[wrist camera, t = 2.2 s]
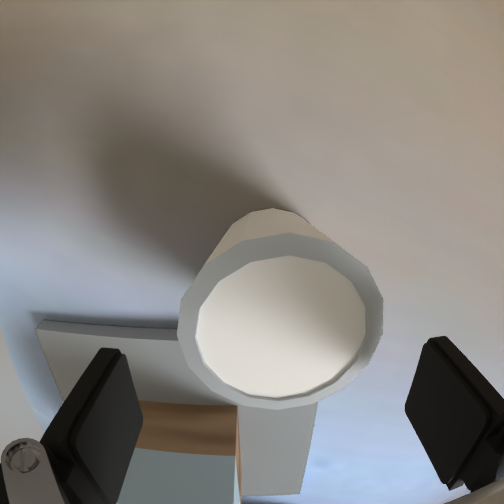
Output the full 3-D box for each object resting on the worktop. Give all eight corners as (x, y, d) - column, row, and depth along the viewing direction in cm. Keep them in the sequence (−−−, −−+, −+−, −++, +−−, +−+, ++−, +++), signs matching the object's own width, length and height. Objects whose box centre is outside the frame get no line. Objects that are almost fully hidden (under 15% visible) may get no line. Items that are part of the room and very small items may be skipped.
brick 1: (117, 397, 18) (97, 440, 14) (237, 405, 18) (235, 455, 14) (144, 462, 21) (133, 500, 17) (242, 470, 21) (241, 511, 17)
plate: (43, 319, 18) (34, 328, 17) (322, 327, 18) (326, 338, 17) (112, 471, 24) (109, 480, 22) (298, 483, 24) (299, 493, 22)
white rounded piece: (361, 262, 17) (419, 332, 10) (268, 341, 18) (275, 434, 11) (273, 166, 15) (292, 181, 8) (177, 261, 16) (134, 334, 10)
